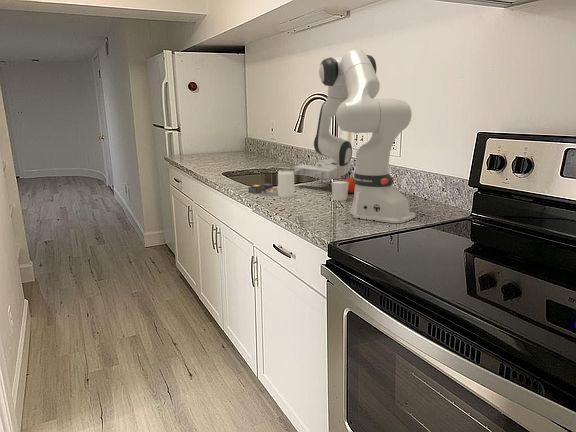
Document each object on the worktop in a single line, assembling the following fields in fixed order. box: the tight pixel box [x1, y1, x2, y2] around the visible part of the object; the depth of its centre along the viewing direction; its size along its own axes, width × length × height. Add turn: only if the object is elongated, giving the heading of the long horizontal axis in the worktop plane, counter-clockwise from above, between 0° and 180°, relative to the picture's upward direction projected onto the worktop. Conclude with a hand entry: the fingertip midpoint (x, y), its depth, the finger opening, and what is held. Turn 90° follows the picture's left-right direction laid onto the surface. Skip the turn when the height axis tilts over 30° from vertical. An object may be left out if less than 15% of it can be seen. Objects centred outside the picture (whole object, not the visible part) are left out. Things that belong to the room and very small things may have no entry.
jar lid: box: [265, 187, 278, 196], centre depth 192 cm, size 9×9×1 cm
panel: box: [247, 183, 278, 198], centre depth 192 cm, size 14×12×4 cm
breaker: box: [250, 184, 262, 188], centre depth 193 cm, size 4×3×2 cm
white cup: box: [331, 180, 349, 202], centre depth 182 cm, size 7×7×7 cm
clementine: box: [344, 176, 355, 194], centre depth 193 cm, size 8×7×7 cm
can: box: [277, 168, 295, 199], centre depth 183 cm, size 6×6×12 cm
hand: (303, 174), depth 192 cm, fingers open, 8 cm apart
